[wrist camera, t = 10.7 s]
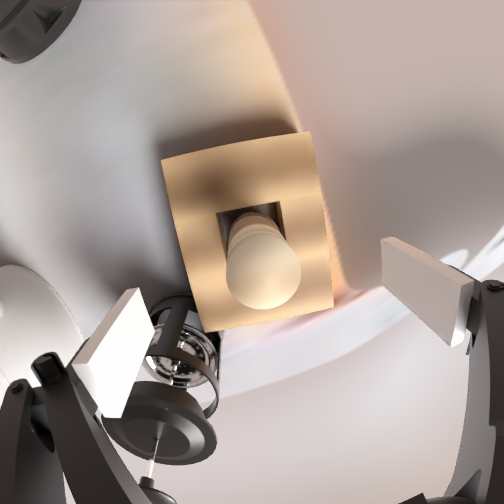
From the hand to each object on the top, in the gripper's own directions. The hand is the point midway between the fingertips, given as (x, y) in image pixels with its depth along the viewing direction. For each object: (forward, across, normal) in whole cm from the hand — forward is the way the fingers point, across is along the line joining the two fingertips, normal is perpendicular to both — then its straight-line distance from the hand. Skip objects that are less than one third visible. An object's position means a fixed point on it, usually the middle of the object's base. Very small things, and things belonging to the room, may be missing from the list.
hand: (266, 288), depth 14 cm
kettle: (+17, -36, -8) cm, 41 cm away
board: (+17, 0, -1) cm, 17 cm away
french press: (+17, -10, -10) cm, 22 cm away
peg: (+17, 0, -1) cm, 17 cm away
